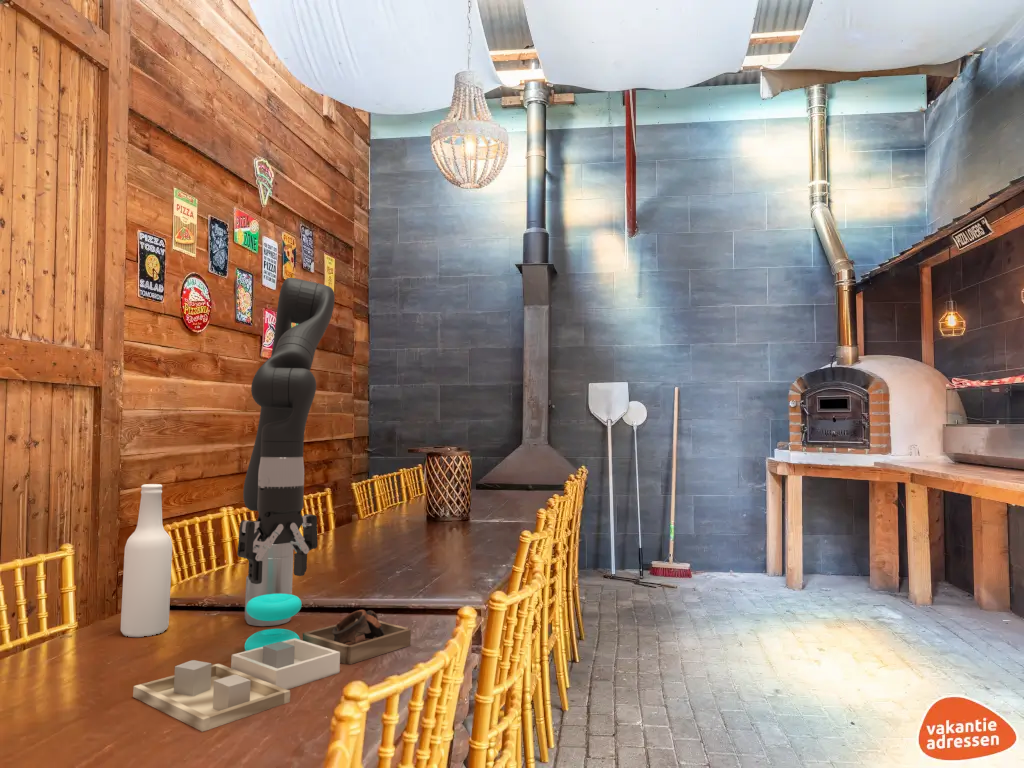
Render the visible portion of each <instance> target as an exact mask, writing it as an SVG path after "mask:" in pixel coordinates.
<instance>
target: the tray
mask: <svg viewBox="0 0 1024 768" xmlns="http://www.w3.org/2000/svg"><path fill="white" fill-rule="evenodd" d="M235 674H236V675H238V676H241V677H244V678H246V679H249V680H251V682H250V701H249V702H246V703H243V704H239V705H236V706H233V707H230V708H227V709H224V710H221V711H218V710H216V709H213V691H214V680H218V679H221V678H225V677H228V676H232V675H235ZM174 675H175V674H174ZM174 675H170V676H166V677H162V678H159V679H156V680H151V681H149V682H143V683H139V684H136V685H133V688H132V689H133V690H132V692H133V693H132V697H133V698H134V699H136V700H137V701H140V702H142V703H144V704H146V705H148V706H150V707H152V708H154V709H156V710H158V711H160V712H162V713H164V714H166V715H168V716H170V717H172V718H174V719H176V720H178V721H179V722H183V723H184V724H186V725H188V726H189V727H192V728H194V729H196V730H198V731H200V732H202V733H203V732H206V731H209V730H212V729H215V728H217V727H221V726H224V725H226V724H229V723H233V722H235V721H238V720H241V719H244V718H247V717H250V716H252V715H253V716H254V715H257V714H259V713H262V712H265V711H268V710H270V709H273V708H276V707H279V706H282V705H285V704H288V703H290V702H291V690H290V689H288V690H287V689H284V688H281V687H279V686H276V685H274V684H271V683H268V682H266V681H263V680H260V679H258V678H255V677H253V676H250V675H247V674H245V673H242V672H239V671H237V670H234V669H232V668H231V667H228V666H226V665H223V664H222V663H215V664H212V665H211V689H210V690H207V691H205V692H203V693H200V694H198V695H196V696H188V695H183V694H178V693H174Z"/></svg>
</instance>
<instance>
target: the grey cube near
mask: <svg viewBox="0 0 1024 768" xmlns="http://www.w3.org/2000/svg"><path fill="white" fill-rule="evenodd" d="M250 682H251V680H249V679H246V678H244V677H241V676H238V675H236V674H235V675H232V676H228V677H225V678H221V679H218V680H214V691H213V709H216V710H218V711H221V710H224V709H227V708H230V707H233V706H236V705H239V704H243V703H246V702H249V701H250Z"/></svg>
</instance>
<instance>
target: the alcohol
mask: <svg viewBox="0 0 1024 768" xmlns="http://www.w3.org/2000/svg"><path fill="white" fill-rule="evenodd" d="M140 488H141V491H140V494H141V496H140V503H139V509H138V510H139V511H138V519H137V523H136V528H135V530H134V531H133V532H132V533H131V535H130V536H129V537H128V538H127V540H126V543H125V546H124V552H123V553H124V557H123V573H122V575H123V576H122V593H121V595H122V596H121V597H122V598H121V610H120V611H121V613H120V632H121V633H122V635H123V636H125V637H127V636H128V637H127V638H145V637H144V636H147V637H152V635H153V636H157V635H156V634H158V635H160V633H161V634H163V633H165V632H166V631H165V630H168V628H169V624H170V608H171V607H170V602H171V583H172V581H171V580H172V563H173V562H172V561H173V560H172V558H173V542H172V537H171V536H170V534H169V533H168V532H167V531H166V530H165V528H164V525H163V505H162V504H163V503H162V502H163V498H162V493H163V490H162V489H163V485H162V484H160V483H159V484H158V483H148V484H146V483H144V484H142V485H140ZM164 631H165V632H164Z"/></svg>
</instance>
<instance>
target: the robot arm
mask: <svg viewBox="0 0 1024 768" xmlns="http://www.w3.org/2000/svg"><path fill="white" fill-rule="evenodd" d="M335 298H336V297H335V291H334V289H333V288H332V287H331V286H328V285H327V284H322V283H319V282H314V281H309V280H304V279H299V278H295V277H287V278H285V279H284V281H283V282H282V285H281V288H280V291H279V295H278V303H277V309H276V316H275V317H276V318H275V327H274V335H273V343H272V349H271V356H270V357H269V358H268V359H267V360H266V361H265V362H264V363H262V365H260V367H259V368H258V369H257V371H256V373H254V376H253V379H252V382H251V388H250V390H251V396H252V398H253V401H254V402H255V403H256V405H258V406H260V412H259V419H258V425H257V430H256V437H255V440H254V441H255V442H254V445H253V449H252V453H251V456H250V460H249V463H248V467H247V470H246V475H245V478H244V483H243V497H242V498H243V502H244V505H245V507H246V508H247V510H249V511H251V512H253V511H254V512H258V517H257V519H256V520H252V521H251V520H247V519H246V520H245V519H243V520H240V523H239V532H238V542H237V544H238V545H237V553H236V555H237V557H239V558H242V559H246V560H247V561H248V570H247V571H248V572H247V573H248V575H247V576H246V578H245V600H244V601H245V603H244V604H245V605H244V620H245V621H246V623H247V624H248V625H250V626H255V627H272V626H279V625H283V624H286V623H289V622H290V621H291V620H292V617H290V618H287V619H283V620H277V621H262V620H257V619H255V618H252V617H251V616H250V615H249V614H248V613H247V611H246V606H247V603H248V602H249V601H250V600H251V599H252V598H254V597H257V596H261V595H266V594H291V595H293V575H294V576H297V577H303V576H305V574H306V571H307V569H308V553H309V552H310V551H312V550H316V549H317V548H318V516H317V515H316V514H311V513H310V514H309V513H308V514H307V513H305V514H304V515H303V516H302V510H303V509H304V499H305V498H304V495H305V492H304V491H305V488H304V487H305V463H304V444H305V443H304V441H305V431H306V425H307V421H308V417H309V416H308V415H309V414H310V410H311V408H312V405H313V402H314V399H315V395H316V392H317V381H316V377H315V376H314V374H313V372H311V369H312V366H313V361H314V358H315V353H316V350H317V347H318V346H319V343H320V342H321V340H322V338H323V336H324V335H325V332H326V330H327V329H328V327H329V325H330V322H331V319H332V317H333V313H334V307H335V302H336V301H335ZM292 324H296V325H293V326H292ZM301 527H302V530H303V531H302V532H303V533H301V531H300V528H301ZM294 551H295V553H294Z"/></svg>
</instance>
